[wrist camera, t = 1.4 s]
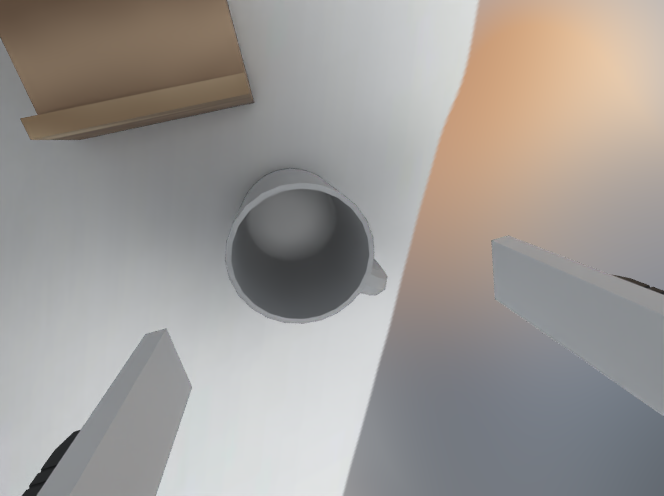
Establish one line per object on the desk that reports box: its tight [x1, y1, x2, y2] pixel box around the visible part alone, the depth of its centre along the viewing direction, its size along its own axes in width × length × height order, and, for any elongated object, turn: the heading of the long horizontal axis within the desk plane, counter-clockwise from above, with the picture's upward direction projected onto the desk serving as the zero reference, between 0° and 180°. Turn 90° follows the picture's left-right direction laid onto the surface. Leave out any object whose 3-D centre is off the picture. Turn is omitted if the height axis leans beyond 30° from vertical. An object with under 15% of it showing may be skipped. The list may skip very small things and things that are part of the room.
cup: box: [225, 169, 387, 324], centre depth 21 cm, size 7×10×9 cm
